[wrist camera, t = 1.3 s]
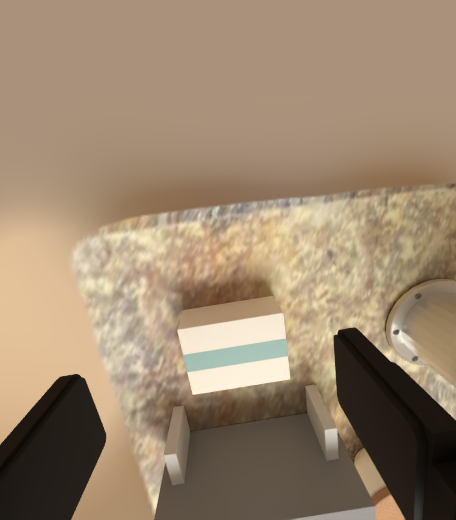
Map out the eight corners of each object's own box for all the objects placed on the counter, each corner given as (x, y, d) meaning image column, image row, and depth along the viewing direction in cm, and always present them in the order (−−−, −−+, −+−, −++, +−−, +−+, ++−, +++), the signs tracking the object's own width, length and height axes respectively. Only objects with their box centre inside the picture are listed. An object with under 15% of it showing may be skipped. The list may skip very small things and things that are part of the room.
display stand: (325, 382, 36) (375, 471, 25) (327, 425, 38) (375, 525, 27) (163, 408, 36) (138, 509, 25) (175, 449, 38) (156, 559, 27)
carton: (273, 295, 33) (283, 312, 28) (280, 353, 35) (290, 379, 30) (183, 309, 33) (177, 330, 28) (196, 366, 35) (192, 395, 30)
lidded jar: (332, 480, 42) (364, 559, 33) (350, 430, 39) (390, 502, 30) (392, 484, 42) (440, 563, 33) (413, 435, 40) (471, 507, 31)
